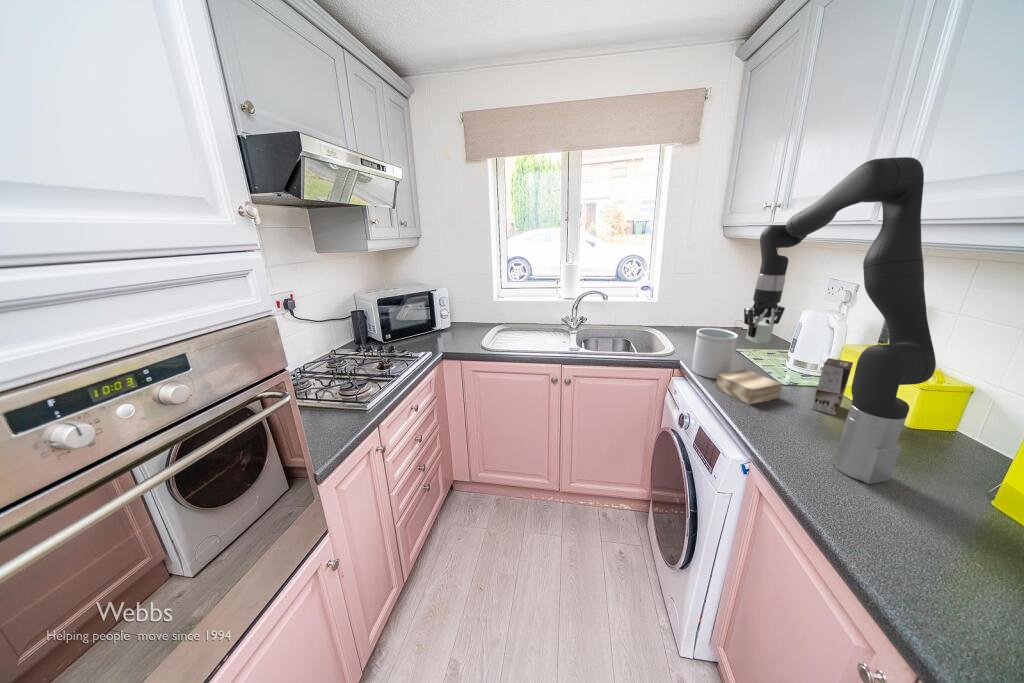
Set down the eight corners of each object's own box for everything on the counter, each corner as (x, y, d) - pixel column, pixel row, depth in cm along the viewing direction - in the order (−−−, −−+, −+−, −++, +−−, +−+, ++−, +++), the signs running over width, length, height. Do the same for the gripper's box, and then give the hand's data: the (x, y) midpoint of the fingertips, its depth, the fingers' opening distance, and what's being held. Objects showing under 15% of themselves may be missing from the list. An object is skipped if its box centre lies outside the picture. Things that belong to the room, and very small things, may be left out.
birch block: (778, 399, 125) (782, 383, 123) (748, 405, 121) (751, 389, 119) (743, 383, 138) (746, 369, 136) (715, 388, 134) (717, 374, 132)
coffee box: (836, 416, 112) (850, 369, 107) (810, 408, 117) (822, 364, 112) (840, 406, 118) (854, 362, 113) (816, 400, 123) (828, 357, 118)
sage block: (769, 342, 121) (773, 325, 119) (757, 343, 120) (760, 326, 118) (757, 337, 125) (761, 321, 123) (745, 338, 125) (748, 322, 123)
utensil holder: (723, 366, 153) (730, 328, 148) (736, 380, 139) (744, 338, 134) (687, 364, 156) (692, 327, 151) (696, 378, 143) (702, 337, 137)
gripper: (759, 291, 112) (748, 341, 117) (798, 288, 114) (786, 338, 120) (741, 286, 119) (732, 334, 124) (778, 284, 121) (767, 331, 127)
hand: (758, 335), depth 122 cm, fingers closed on sage block, 5 cm apart
